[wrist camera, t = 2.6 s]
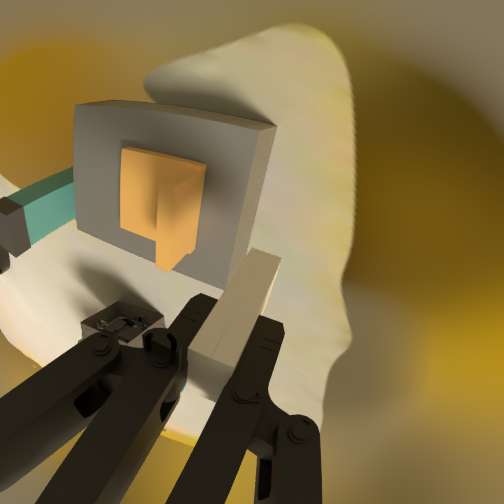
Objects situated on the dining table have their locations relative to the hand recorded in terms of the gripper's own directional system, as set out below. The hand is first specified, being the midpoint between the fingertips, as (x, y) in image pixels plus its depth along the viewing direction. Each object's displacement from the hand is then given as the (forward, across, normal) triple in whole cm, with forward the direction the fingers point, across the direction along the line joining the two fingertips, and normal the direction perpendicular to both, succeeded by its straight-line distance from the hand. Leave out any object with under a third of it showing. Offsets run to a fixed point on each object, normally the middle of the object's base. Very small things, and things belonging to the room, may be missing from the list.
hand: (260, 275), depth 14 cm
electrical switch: (+10, -15, -20) cm, 27 cm away
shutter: (+5, -9, 0) cm, 10 cm away
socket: (+10, -11, 0) cm, 15 cm away
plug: (+10, -23, -4) cm, 25 cm away
